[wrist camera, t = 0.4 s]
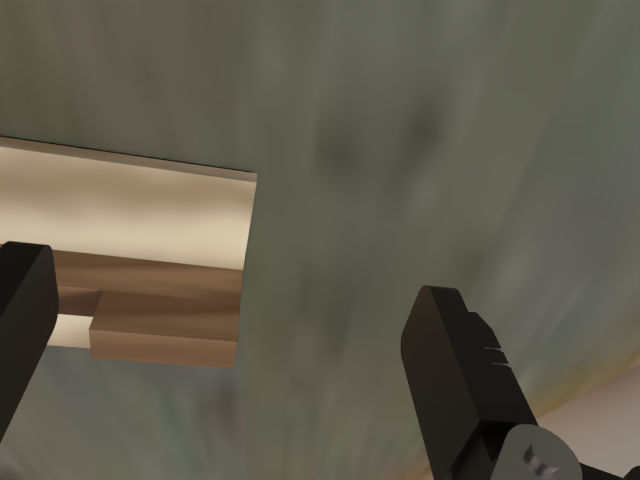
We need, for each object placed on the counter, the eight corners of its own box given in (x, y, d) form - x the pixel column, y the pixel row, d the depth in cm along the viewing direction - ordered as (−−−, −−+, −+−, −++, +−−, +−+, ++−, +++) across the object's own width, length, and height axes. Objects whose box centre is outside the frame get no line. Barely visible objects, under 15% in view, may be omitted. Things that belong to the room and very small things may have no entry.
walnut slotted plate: (-103, 232, 30) (-173, 307, 25) (242, 270, 33) (237, 341, 29) (-91, 263, 31) (-156, 339, 26) (238, 295, 35) (232, 368, 30)
